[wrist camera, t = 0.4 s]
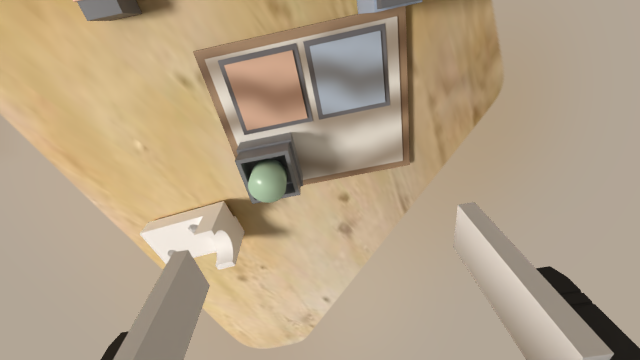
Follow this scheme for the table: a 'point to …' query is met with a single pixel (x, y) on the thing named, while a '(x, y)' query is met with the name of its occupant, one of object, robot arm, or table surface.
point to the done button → (268, 180)
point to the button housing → (273, 149)
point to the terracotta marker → (108, 9)
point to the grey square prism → (381, 5)
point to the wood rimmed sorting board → (319, 92)
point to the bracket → (197, 234)
